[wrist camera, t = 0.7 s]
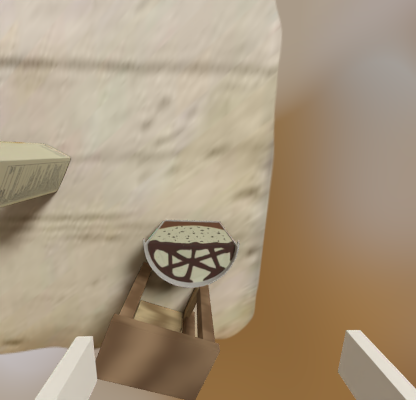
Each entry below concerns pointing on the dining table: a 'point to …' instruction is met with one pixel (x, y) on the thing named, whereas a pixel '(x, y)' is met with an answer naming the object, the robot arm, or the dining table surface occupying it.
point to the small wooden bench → (159, 344)
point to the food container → (190, 252)
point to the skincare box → (29, 171)
